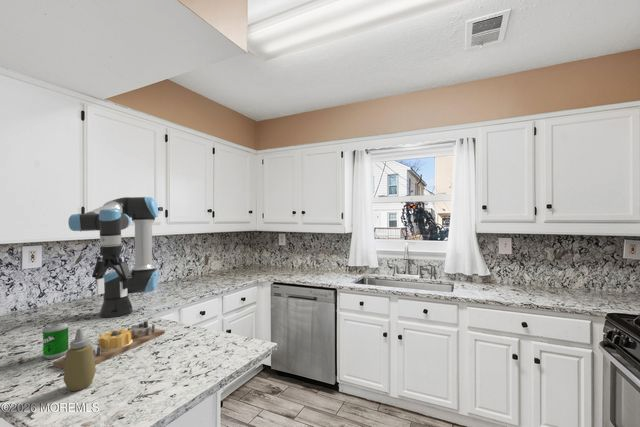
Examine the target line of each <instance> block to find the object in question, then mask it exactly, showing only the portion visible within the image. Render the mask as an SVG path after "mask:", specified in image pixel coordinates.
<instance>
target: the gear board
mask: <svg viewBox="0 0 640 427" xmlns="http://www.w3.org/2000/svg"><path fill="white" fill-rule="evenodd" d="M127 330H131V336H132V340H131V343H129V344H126V345H124V346H122V347H120V348H113V349H109V350H105V349H102V348H101V346H99V344H98V343H94V344H93V343H92V344H91V343H89V345H92V348H93V355H94V362H95V366H96V365H98V364H101V363H103V362H105V361H107V360H110V359H112V358H114V357H117V356H118V355H120V354H123V353H125V352H127V351H129V350H132V349H133V348H136V347H138V346H140V345H143V344H145V343H146V342H149V341H152V340H154V339H156V338H158V337H161V336H162V334H163V335H165V334H166V330H164V329H160V328H159V329H158V328H156V325H155V323H154V324H153V322H149V321H148V320H145V321H143V322H141V323H139V324H133V325H131V327H128V328H127ZM112 331H113V330H112ZM164 333H165V334H164ZM117 335H119V332H118V331H115V330H114V331H113V332H112V334H111V336H117ZM160 335H161V336H160ZM65 361H66V356H64V357H62V358H60V359H57V360H54V361H53V362H52V365H53V367H56V368H59V369H64V370H65Z"/></svg>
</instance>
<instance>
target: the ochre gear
mask: <svg viewBox="0 0 640 427" xmlns="http://www.w3.org/2000/svg"><path fill="white" fill-rule="evenodd" d="M113 331H118V332H119V335H117V336H111V334H112V332H113ZM97 340H98V343H97V344H99V346H101V348H102V349H105V350H109V349H113V348H120V347H122V346H124V345H126V344H129V343H131V340H132V336H131V330H128V329H126V328H121V329H116V330H114V329H113V330H110V331H109V332H106V333H101V334H100V335H99V337H98V338H97Z"/></svg>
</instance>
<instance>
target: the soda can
mask: <svg viewBox="0 0 640 427" xmlns="http://www.w3.org/2000/svg"><path fill="white" fill-rule="evenodd" d="M69 349H70V343H69V324H68V323H66V322H65V321H58V322H52V323H49V324H47V325H45V327H44V328H42V350H43V351H42V357H43V358H45V359H46V360H53V359H58V358H60V357H63V356H66V352H67V351H68V350H69Z"/></svg>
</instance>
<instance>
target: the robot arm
mask: <svg viewBox="0 0 640 427" xmlns="http://www.w3.org/2000/svg"><path fill="white" fill-rule="evenodd" d="M158 216H159V207H158V203H157V200H156V199H155V198H154V197H152V196H151V197H150V196H147V197H146V196H139V197H138V196H137V197H133V196H132V197H130V196H129V197H127V196H126V197H124V196H123V197H119V198H115V199H113V200H109V201H107V202H105V203H104V204H102V206H100V207H98V208H95V209H92V210H91V211H88V212H86V213H74V214H71V215H70V216H69V217H68V227H69V229H70V230H71V231H73V232H89V231H91V232H92V231H93V232H94V231H99V245H100V247H99V253H100V256H97V257H96V263H95V266H94V268H93V272H92V274H91V277H92V278H94V279H95V282H96V283H95V284H96V295H102V294H103V297H102V298H103V302H102V305H101V307H100V310H99V317H101V318H116V317H121V316H125V315H128V314H130V313H132V312H133V306H132V302H131V300H130V298H129V297H130V296H129V294H138V293H150V292H154V291H155V290H156V289H157V287H158V283H159V275H160V274H159V271H158V270H156V266H154V265H153V223H154V222H155V221H156V218H158ZM131 222H133V224H134V266H133V267H132V268H131V271H130V269H129V266H128V263H127V261H126V260H127V259H126V256H121V257H120V255H121V254H122V253H123V252H122V231H123V230H125V229H127V228H129V226H130V225H131ZM109 268H110V269H112V270H114V271H112V272H111V271H110V272H107V271H108V270H109ZM106 272H107V273H106Z"/></svg>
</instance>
